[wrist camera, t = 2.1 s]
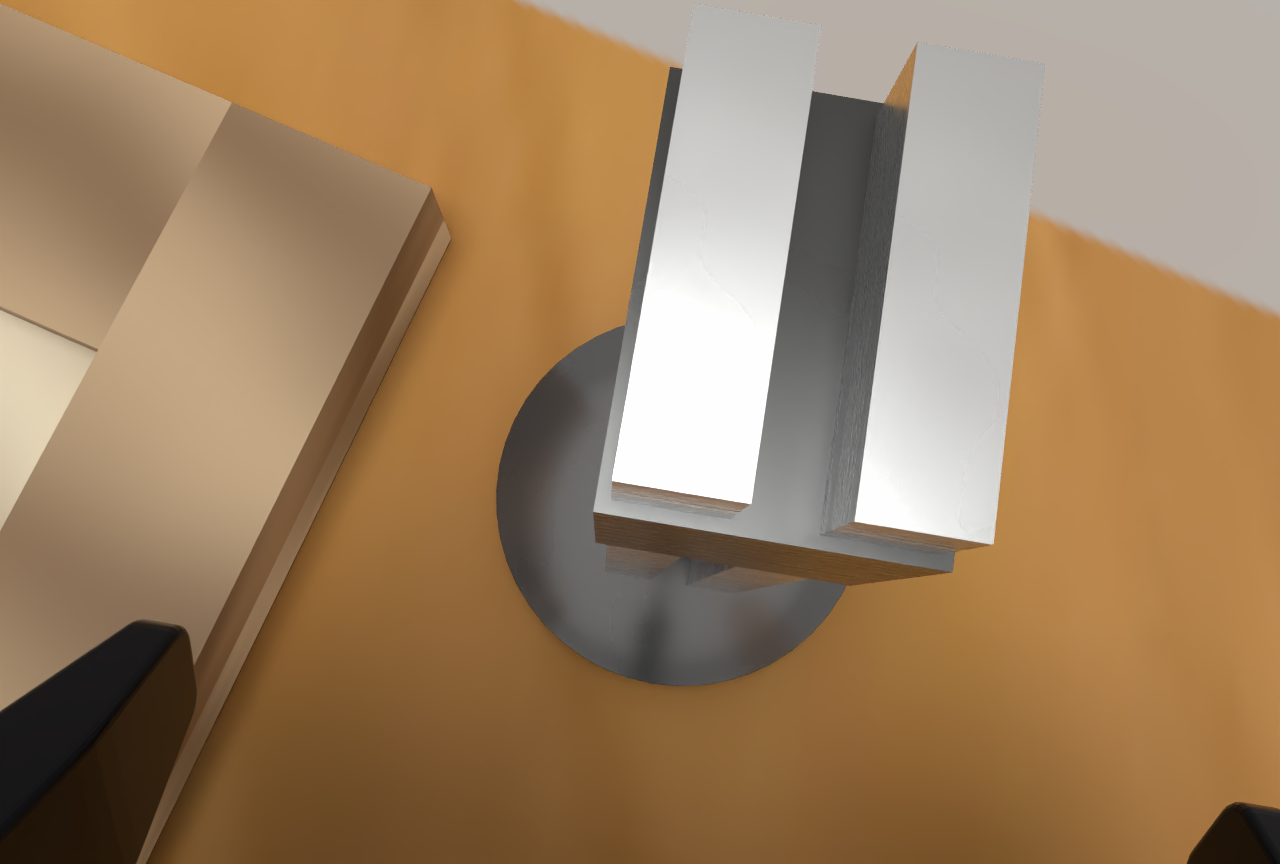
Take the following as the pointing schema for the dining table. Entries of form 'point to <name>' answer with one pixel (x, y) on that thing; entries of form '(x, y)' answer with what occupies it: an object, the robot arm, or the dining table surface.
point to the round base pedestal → (783, 359)
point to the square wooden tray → (176, 354)
